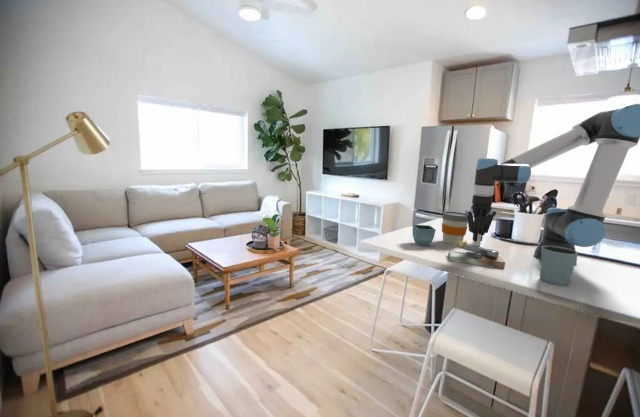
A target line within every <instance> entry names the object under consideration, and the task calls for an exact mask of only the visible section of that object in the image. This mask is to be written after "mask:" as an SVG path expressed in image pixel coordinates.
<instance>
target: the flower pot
mask: <svg viewBox="0 0 640 417" xmlns="http://www.w3.org/2000/svg"><path fill="white" fill-rule="evenodd" d="M436 230H437V229H435V227H432V226H431V225H428V224H427V225H423V224H412V238H413V241H414V243H415V244H416V245H417V246H421V247H422V246H424V247H429V246H430V245H431V243H432V242H433V241H434V238H435V234H436Z"/></svg>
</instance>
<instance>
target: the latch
mask: <svg viewBox="0 0 640 417" xmlns="http://www.w3.org/2000/svg"><path fill="white" fill-rule="evenodd" d="M457 248H458V249H461V250H465V251H467V252H473V253H480V254H481V255H485V256H487V257H489V258H498V256H499V251H498V250H495V249H490V248H485V247H483V246H480V247H479V246H475V245H473V243H468V242H467V240H465V239H463V240H459V244H458V245H457Z"/></svg>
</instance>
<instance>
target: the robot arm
mask: <svg viewBox="0 0 640 417" xmlns="http://www.w3.org/2000/svg"><path fill="white" fill-rule="evenodd" d="M639 141H640V103H626V104H622V105H620V106H617V107H612V108H607V109H604V110H602V111H599V112H597V113H596V114H593V115H592V116H590V117H588V118H587V119H585V120H583V121H581V122H579V123H577V124H575V125H573V126H572V128H571V130H570V129H569V130H568V131H566V132H564V133H561V134H560V135H557V136H555V137H553V138H552V139H550V140H548V141H545V142H542V144H539V145H537V146H534V147H533V148H530V149H529V150H527V151H525V152H522V153H520V154H518V155H516V156H514V157H512V158H510V159H508V160H505V161H504V162H499V161H498V159H497V158H489V157H488V158H487V157H485V158H484V157H483V158H482V157H481V158H478V160H477V163H476V167H475V176H474V186H473V195H472V202H471V203H472V205H471V207H470V209H469V210H465V214H466V215H467V219H468V224H467V226H468V227H467V228H468V232H469V233H472V242H474V243H472V245H475V246H479V247H481V244H480V243H481V242H482V241H483V238H484V236H485V234H487V233H488V232H489V231H490V226H491V225H492V222H493V219H494V217H495V216H496V214H497V212H496V211H494V210H493V208H492V205H493V200H494V199H493V198H494V197H493V195H494V191H495V183H498V182H499V183H500V182H502V183H516V184H519V183H521V184H523V183H528V182H529V180H530V178H531V175H532V168H534V167H537V166H539V165H541V164H544V163H546V162H548V161H549V160H552V159H554V158H556V157H557V158H558V156H561V155H563V154H566V153H567V152H568V153H569V152H570V151H572V150H574V149H576V148H578V147H581V146H583V147H584V146H586V147H587V146H588V145H591V144H593V143H596V144H597V145H598V146H597V148H596V150H595V153H594V155H593V158H592V160H591V163H590V164H589V168H588V170H587V172H586V175H585V177H584V180H583V183H582V184H581V186H580V189H579V192H578V194H577V197H576V199H575V202H574V204H573V205H570V206H568V207H567V208H564V207H563V208H561V207H550V208H548V209H547V210H546V213H545V219H544V225H543V230H542V236H541V240H540V241H539V244H538V245H537V246H536V248H535V249H534V253H533V254H534V257H536V258H539V259H540V260H541V248H542V246H558V247H564V248H568V249H572V250H574V251H576V246H577V247H581V248H590V247H593V246H596V245H597V244H599V243H601V242H602V241H603V239H604V238H605V237H606V232H607V230H606V227H605V225H604V224H603V223H604V221H605V219H606V215H605V214H604V211H603V210H604V208H605V205H606V204H607V201H608V198H609V197H610V194H611V192H612V189H613V187H614V184H615V182H616V179H617V177H618V175H619V172H620V171H621V169H622V166H623V164H624V161H625V159H626V157H627V154H628V152H629V150H630V149H632V148H634V147H637V145H638V143H639ZM576 252H577V251H576ZM577 261H578V257H577V258H576V262H575V264H577Z"/></svg>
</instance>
